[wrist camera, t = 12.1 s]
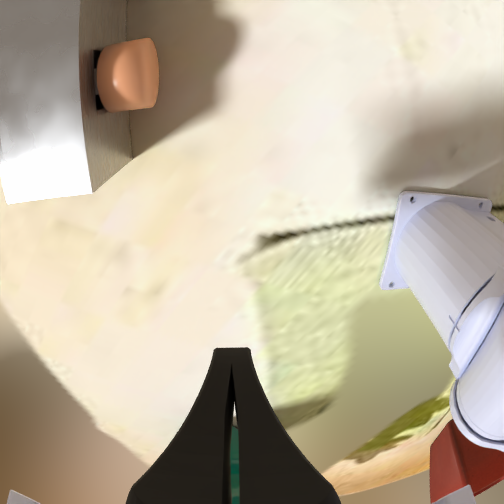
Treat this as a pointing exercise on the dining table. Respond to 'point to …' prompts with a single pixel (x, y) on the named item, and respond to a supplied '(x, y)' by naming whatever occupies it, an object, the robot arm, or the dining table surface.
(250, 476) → the robot arm
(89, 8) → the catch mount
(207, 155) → the dining table surface
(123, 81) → the terracotta knob
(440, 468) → the plant pot
